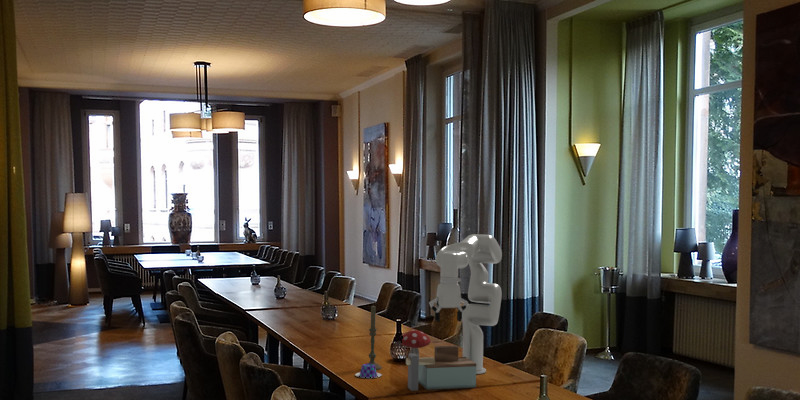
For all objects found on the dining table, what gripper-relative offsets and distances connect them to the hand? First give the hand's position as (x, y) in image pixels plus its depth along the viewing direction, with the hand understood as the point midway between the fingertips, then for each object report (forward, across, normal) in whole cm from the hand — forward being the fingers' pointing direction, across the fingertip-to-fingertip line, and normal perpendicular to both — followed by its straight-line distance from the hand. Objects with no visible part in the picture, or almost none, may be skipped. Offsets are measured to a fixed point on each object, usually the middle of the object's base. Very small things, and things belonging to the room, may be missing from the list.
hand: (448, 321), depth 315 cm
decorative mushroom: (+28, -2, -57) cm, 64 cm away
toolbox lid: (+20, -2, -6) cm, 21 cm away
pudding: (+29, +28, -28) cm, 49 cm away
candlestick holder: (+28, +23, -43) cm, 56 cm away
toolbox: (+28, +2, -5) cm, 29 cm away
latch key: (+18, +12, -1) cm, 22 cm away
